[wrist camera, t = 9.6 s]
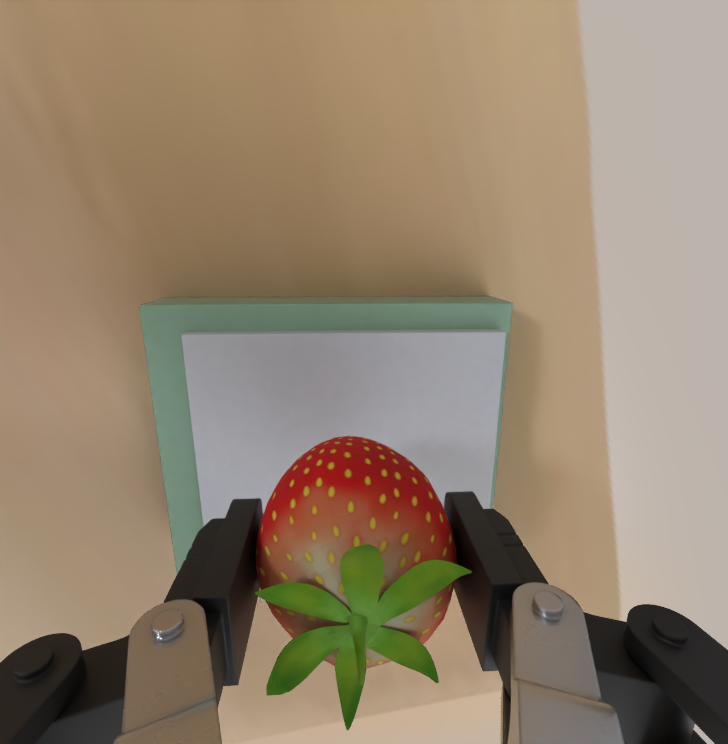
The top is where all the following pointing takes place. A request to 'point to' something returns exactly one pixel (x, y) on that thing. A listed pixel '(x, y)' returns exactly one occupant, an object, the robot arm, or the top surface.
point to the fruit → (354, 565)
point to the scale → (320, 391)
